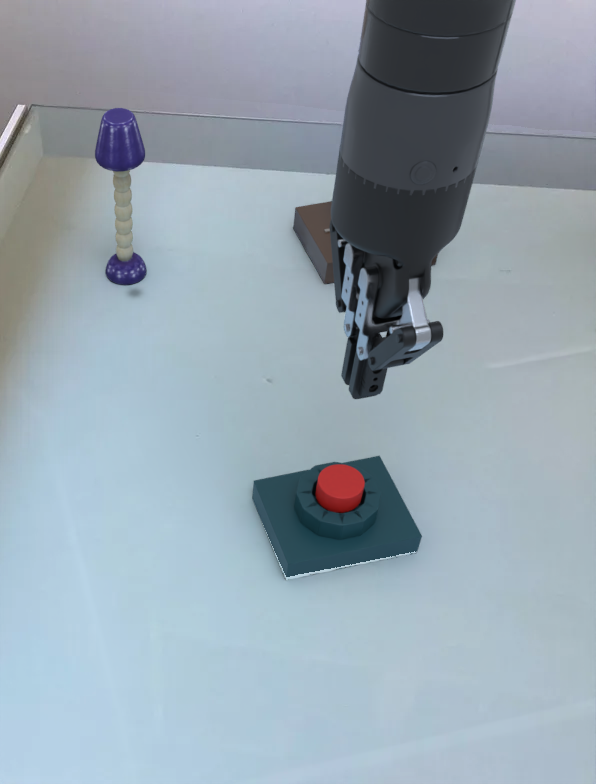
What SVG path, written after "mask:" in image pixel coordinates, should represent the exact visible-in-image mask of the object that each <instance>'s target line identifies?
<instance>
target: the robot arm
mask: <svg viewBox="0 0 596 784" xmlns="http://www.w3.org/2000/svg"><path fill="white" fill-rule="evenodd" d="M516 2H517V0H365V4H364V10H363V11H364V12H363V17H362V24H361V25H362V26H361V31H360V38H359V40H360V41H359V45H358V46H359V47H358V54H357V57H356V63H355V67H354V71H353V75H352V79H351V82H350V85H349V89H348V93H347V96H346V102H345V107H344V115H343V122H342V129H341V137H340V144H339V150H338V157H337V163H336V171H335V177H334V185H333V192H332V199H331V201H332V205H331V220H330V227H329V228H330V237H331V249H332V261H333V274H334V282H333V284H334V298H335V307H336V310H337V312H338V313H339V314H341V313H344V314H345V315H344V319H343V331H344V334H345V336H346V337H347V341H346V345H345V352H344V357H343V363H342V368H341V375H340V377H341V379H342V381H343V383H344V384H345V385H346V386H348V392H349V393H350V395H351V397H352V399H354V400H361V399H366V398H372V397H376V396H378V395H381V393H382V392H383V390H384V386H385V381H386V378H387V372H388V369H390V368H396V367H399V366H405V365H410V364H411V363H413V362H414V361H416V360H417V359H418V358H420V357H421V356H423V355H425V354H426V353H427V352H428V351H430V350H431V349H433V348H434V347H435V346H436V345H438V344H439V343H441V342H442V341H443V339H444V326H443V324H442V323H441V321H439V320H435V321H430V319H428V317H427V313H426V307H425V303H424V300H425V298H427V296H428V294H429V292H430V291H431V287H432V286H431V285H432V266H433V265H432V260H433V258H434V257H435V256H436V255H437V254H438V255H439V253H440V252H441V251H442V250H443V249H444V248H445V247H447V246H448V245H449V244H450V243H451V242H452V241H453V240H454V239H455V238H456V237H457V235H458V234H459V232H460V230H461V227H462V225H463V220H464V216H465V214H466V213H465V212H466V209H467V206H468V201H469V198H470V194H471V190H472V187H473V182H474V179H475V175H476V172H477V168H478V165H479V160H480V157H481V153H482V149H483V146H484V142H485V137H486V135H487V130H488V127H489V122H490V118H491V113H492V108H493V103H494V96H495V95H494V93H495V87H496V79H497V75H498V70H499V65H500V63H501V58H502V54H503V51H504V47H505V44H506V40H507V37H508V32H509V28H510V24H511V21H512V17H513V13H514V10H515V6H516ZM381 333H386V335H385V336H382V334H381Z"/></svg>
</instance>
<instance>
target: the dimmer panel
mask: <svg viewBox="0 0 596 784" xmlns="http://www.w3.org/2000/svg"><path fill="white" fill-rule="evenodd" d="M331 205H332V200H329V201H325V202H317V203H312V204H305V205H301V206H295V208H294V216H293V226H292V229H293V231H294V232H295V234H296V236H297V237H298V239H299V241H300V243H301V245H302V246H303V248H304V250H305V252H306V254H307V256H308V257H309V259H310V261H311V262H312V265H313V266H314V268H315V269H316V271H317V273H318V275H319V277H320V278H321V280H322V282H323V284H324V285H327V284H334V274H333V261H332V249H331V237H330V228H329V227H330V220H331ZM438 255H439V253H438V254H437V255H436V256H435V257H434V258H433V260H432V265H431V266H435V265H436V264H437V260H438Z"/></svg>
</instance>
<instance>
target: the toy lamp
mask: <svg viewBox="0 0 596 784" xmlns="http://www.w3.org/2000/svg"><path fill="white" fill-rule="evenodd" d="M94 158H95V161H96V163H97V164H98V165H99V166H100V167H102V169H104V170H107V171H111V172H112V173H113V176H112V185H113V188H114V191H113V199H114V203H115V204H114V209H113V210H114V215H115V219H114V229H115V231H116V232H115V242H116V248H115V253H114V254H113V255H112V256H110V258H109V259H108V260H107V263H106V265H105V275H106V277H107V279H108V280H109V281H110V282H112V283H114V284H117V285H124V286H126V285H127V286H128V285H129V286H130V285H133V284H136V283H139V282H141V281H142V280H143V279H144V278H145V277H146V275H147V266H146V262H145V261H144V259H143V257H142V256H141V255H140V254H138V253H136V252H135V251H134V246H133V242H134V241H133V240H134V236H133V231H132V230H133V225H134V222H133V221H134V220H133V218H132V215H133V204H132V202H131V201H132V198H133V193H132V189H131V186H132V176H131V174H130V172H131V170H134V169H136V168H138V167H140V166H141V165H142V164H143V162H144V161H145V159H146V149H145V144H144V140H143V138H142V134H141V131H140V128H139V124H138V121H137V118H136V116H135V114H134V113H133V112H132V110H129V109H128V108H124V107H114V108H110V109H108V110H106V111H105V112H104V113H103V115H102V116H101V119H100V124H99V129H98V135H97V139H96V143H95V149H94Z"/></svg>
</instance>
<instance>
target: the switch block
mask: <svg viewBox="0 0 596 784" xmlns="http://www.w3.org/2000/svg"><path fill="white" fill-rule="evenodd" d="M336 464H343V465H348V466H351V467H353V468H355V469H356V470H358V471H359V472H360V473H361V474H362V476H363V478H364V481H365V485H364V490H363V494H362V498H361V502H360V504H359V505H358V506H357V507H356V508H355V509H353V510H352V511H349V512H345V513H336V512H331V511H329V510H326V509H325V508H323V507H322V506H321V505H320V504H319V503H318V501H317V499H316V495H315V493H316V487H317V481H318V476H319V474H320V472H321V471H322V470H323V469H325V468H326V467H328V466H331V465H336ZM252 486H253V487H252V494H251V499H252V502H253V504H254V506H255V509H256V511H257V514H258V516H259V519H260V522H261V524H262V523H263V524H262V526H263V525H264V526H263V528H265V529H264V531H265V530H266V531H265V533H266V532H267V534H268V536H267V538H268V537H269V539H270V541H271V544H272V546H273V548H274V551H275V553H276V555H277V557H278V560H279V562H280V564H281V566H282V568H283V571H284V573H285V575H286V577H290V576H295V575H298V574H304V573H309V572H315V571H320V570H324V569H331V568H335V567H336V568H337V567H341V566H345V565H350V564H351V565H352V564H356V563H360V562H366V561H370V560H375V559H380V558H386V557H390V556H391V557H392V556H396V555H399V554H405V553H409V552H410V553H411V552H414V551H415V552H416V551H417V552H418V550H419V547H420V544H421V541H422V538H423V535H422V533H421V531H420V528H419V527H418V525H417V523H416V522H415V519H414V518H413V516H412V514H411V512H410V510H409V508H408V507H407V504H406V502H405V501H404V499H403V497H402V495H401V493H400V491H399V490H398V488H397V485H396V484H395V482H394V480H393V478H392V476H391V475H390V472H389V471H388V468H387V467H386V465H385V462H384V461H383V459H382V458H381V455H374V456H370V457H365V458H360V459H354V460H350V461H345V462H338V461H331V462H326V463H322V464H316V465H314V466H312V467H311V468H310V469H305V470H300V471H295V472H290V473H285V474H280V475H275V476H269V477H266V478H265V477H264V478H260V479H255V480H253V483H252ZM267 534H266V535H267ZM269 539H268V540H269ZM270 541H269V542H270ZM271 544H270V545H271ZM272 546H271V547H272ZM274 551H273V552H274ZM275 553H274V554H275Z"/></svg>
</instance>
